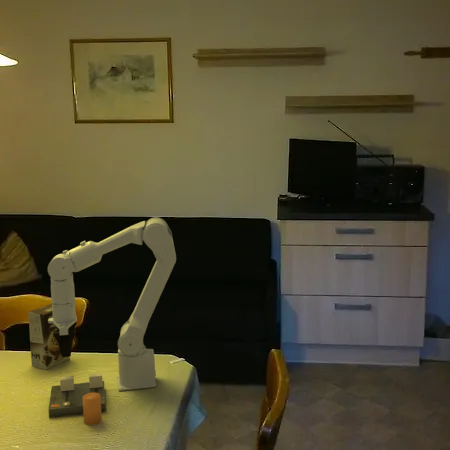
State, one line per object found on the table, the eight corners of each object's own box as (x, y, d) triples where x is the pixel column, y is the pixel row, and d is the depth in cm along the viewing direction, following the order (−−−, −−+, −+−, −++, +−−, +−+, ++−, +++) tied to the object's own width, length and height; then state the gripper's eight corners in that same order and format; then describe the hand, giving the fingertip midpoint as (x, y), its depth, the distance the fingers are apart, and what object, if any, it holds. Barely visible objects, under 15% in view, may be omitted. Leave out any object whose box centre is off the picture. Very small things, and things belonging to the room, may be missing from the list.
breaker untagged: (102, 384, 155) (102, 372, 155) (102, 387, 153) (102, 375, 153) (89, 385, 155) (89, 374, 154) (89, 388, 153) (89, 377, 152)
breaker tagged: (74, 386, 154) (73, 375, 153) (74, 390, 152) (73, 378, 151) (61, 388, 153) (60, 377, 153) (60, 391, 151) (60, 379, 151)
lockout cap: (101, 415, 143) (100, 391, 142) (101, 423, 139) (100, 399, 138) (84, 417, 142) (82, 393, 141) (83, 426, 138) (82, 401, 137)
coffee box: (46, 370, 169) (42, 314, 167) (30, 366, 173) (26, 311, 170) (71, 359, 177) (67, 305, 174) (55, 355, 180) (52, 302, 178)
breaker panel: (104, 388, 158) (104, 379, 157) (105, 411, 145) (105, 401, 145) (52, 393, 155) (51, 384, 155) (49, 417, 142) (48, 408, 142)
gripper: (49, 295, 161) (52, 344, 163) (45, 311, 147) (48, 365, 149) (76, 293, 162) (79, 341, 165) (75, 309, 148) (78, 362, 151)
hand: (66, 352), depth 157 cm, fingers open, 5 cm apart
